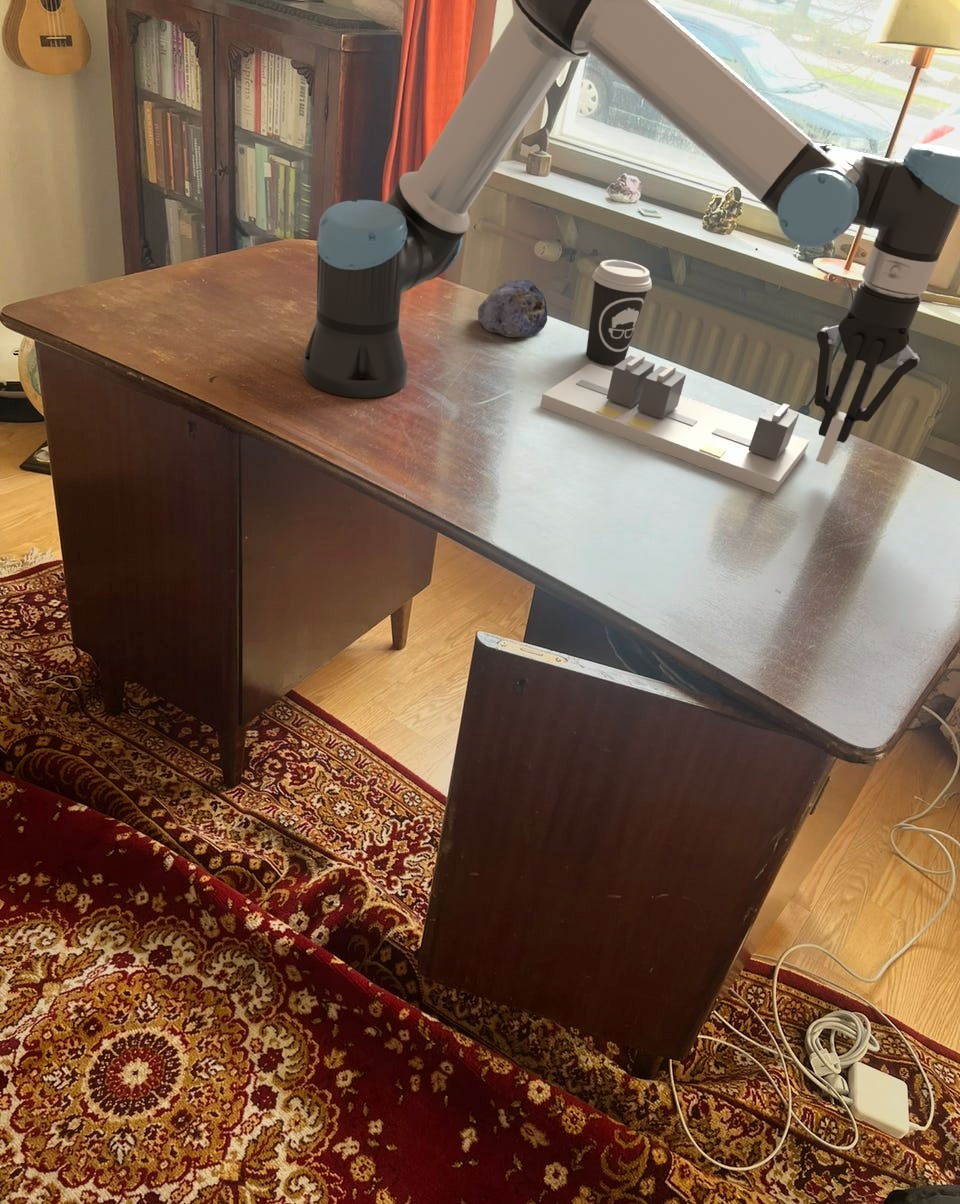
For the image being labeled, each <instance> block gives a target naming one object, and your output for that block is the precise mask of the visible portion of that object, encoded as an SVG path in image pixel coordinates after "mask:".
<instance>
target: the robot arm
mask: <svg viewBox="0 0 960 1204" xmlns="http://www.w3.org/2000/svg"><path fill="white" fill-rule="evenodd" d="M511 4H512V11H513V13H512V16H511V18H510V20H509V22H508V23H507V25H506V26H505V28H504V30H503V31H502V33H501V35H500V36H499V38H498V39H497V41H496V43H495V45H494V46H493V48H492V49H491V51H490V53H489V54H488V56H487V57H486V59H485V61H484V62H483V64H482V66H481V67H480V69H479V71H478V72H477V74H476V75H475V77H474V79H473V81H472V82H471V84H470V85H469V87H468V88H467V90H466V92H465V93H464V95H463V97H462V98H461V100H460V101H459V103H458V105H457V107H456V108H455V110H454V112H453V114H452V115H451V116H450V118H449V119H448V121H447V123H446V125H445V126H444V128H443V129H442V131H441V133H440V134H439V136H438V138H437V139H436V140H435V142H434V144H433V146H432V148H431V149H430V150H429V153H428V154H427V155H426V157H425V159H424V160H423V162H422V164H421V166H420V167H419V169H418V171H417V170H415V171H408V172H405V173H403V174H402V175H401V176H400V179H399V180H398V181H397V183H396V185H395V186H394V188H393V190H392V192H391V193H390V195H389V197H388V198H387V200H386V201H385V202H384V201H380V200H374V199H373V200H372V199H357V200H356V201H352V200H346V201H342V202H339V203H335V204H333V205H332V206H330V207H328V208H327V209H326V210H325V211H324V212H323V213H322V215H321V217H320V218H319V225H318V234H317V238H316V250H317V260H316V261H317V269H316V270H317V272H316V273H317V274H316V320H315V325H314V327H313V330H312V332H311V335H310V339H309V340H308V344H307V346H306V350H305V352H304V355H303V360H302V361H303V362H302V364H303V365H302V367H303V368H302V369H303V370H302V374H303V378H304V379H305V380H306V382H308V384H310V385H311V386H312V387H315V388H317V389H318V390H320V391H323V392H325V393H328V394H333V395H336V396H342V397H347V398H357V399H370V398H379V397H386V396H389V395H392V394H395V393H397V392H399V391H400V390H402V388H404V387H405V386H406V383H407V377H408V364H407V361H406V358H405V353H404V348H403V344H402V339H401V336H400V329H399V328H400V327H399V325H400V323H399V322H400V311H401V300H402V299H401V298H402V294H403V293H406V292H407V291H409V290H411V289H413V288H415V287H416V286H419V285H420V284H423V283H424V282H427V281H431V280H434V279H435V278H437V277H439V276H440V275H441V274H443V273H445V272H446V271H447V270H448V269H449V268H450V267H451V265H453V264H454V262H455V260H456V259H457V257H458V256H459V254H460V251H461V249H462V245H463V237H464V235H465V233H466V232H467V230H468V229H469V227H470V225H471V223H470V222H471V220H470V216H469V211H468V210H469V209H470V207H471V205H472V204H473V202H474V201H475V199H476V198H477V196H478V195H479V194H480V192H481V191H482V189H483V188H484V186H485V184H486V183H487V182H488V180H489V179H490V178H491V177H492V175H493V173H494V171H495V170H496V169H497V167H498V166H499V165H500V162H501V161H502V160H503V158H504V157H505V156H506V154H507V152H508V151H509V150H510V148H511V146H512V145H513V143H514V142H515V141H516V139H517V138H518V136H519V134H520V133H521V132H522V130H523V129H524V127H525V126H526V124H527V123H528V121H529V120H530V118H531V117H532V115H533V114H534V112H535V111H536V109H537V108H538V107H539V105H540V103H541V102H542V100H543V99H544V98H545V96H546V94H547V93H548V92H549V90H550V89H551V87H552V86H553V85H554V83H555V81H556V80H557V78H558V77H559V75H561V73H562V71H563V70H564V68H565V67H566V65H567V63H569V62H572V61H578V60H584V59H586V57H587V56H588V55H589V53H590V54H591V55H593V56H594V57H595V59H597V60H598V61H599V62H600V63H602V64H603V65H604V66H605V67H606V68H607V69H608V70H609V71H611V72H612V74H614V75H615V76H617V77H618V78H619V79H620V80H621V81H622V82H623V83H625V84H626V85H627V86H628V87H629V88H630V89H632V91H634V92H635V93H636V94H637V95H639V96H640V97H641V99H643V100H644V101H645V102H646V103H647V104H648V105H650V106H651V107H652V108H653V109H654V110H656V112H657V113H659V114H660V115H661V116H662V117H663V118H665V120H667V122H669V123H670V124H671V125H673V126H674V127H675V129H678V131H680V132H681V133H682V134H683V135H684V136H685V137H687V139H689V140H690V141H691V142H692V143H693V144H694V145H695V146H696V147H698V148H699V149H700V150H701V151H702V152H704V154H706V155H707V156H708V157H709V158H710V159H712V161H714V162H715V163H716V164H717V165H718V166H720V167H721V168H722V169H723V170H725V172H726V173H728V174H729V175H730V176H731V177H733V178H734V180H736V181H737V182H738V183H739V184H740V185H742V186H743V187H744V188H745V189H746V190H747V191H748V192H749V193H750V194H752V195H753V196H754V197H755V198H757V200H758V201H760V202H761V203H762V204H763V205H764V206H765V208H767V209H768V210H770V212H771V213H773V214H774V215H775V216H776V217H777V220H778V222H779V223H778V225H779V226H780V229H781V231H782V232H783V234H784V236H785V237H786V239H788V240H789V241H790V242H791V243H794V244H795V245H796V246H801V247H804V248H817V247H821V246H825V245H827V244H830V243H831V242H833V241H834V240H836V239H837V238H838V237H839V236H840V235H843V234H844V233H846V231H848V230H849V228H850V227H852V225H855V226H856V225H857V226H860V227H865V228H866V229H867V228H868V229H874V230H877V231H878V232H877V235H876V237H875V239H874V242H873V246H872V248H871V251H870V254H869V256H868V258H867V261H866V264H865V266H864V269H863V272H862V275H861V276H862V278H863V280H862V281H861V282H860V283H858V285H857V287H856V291H855V292H854V295H853V298H852V301H851V304H850V307H849V310H848V312H847V314H846V316H845V317H844V318H843V319H842V320H840V322H839V324H837V325H833V326H830V327H829V326H824V327H822V328H821V329H820V330H819V331H818V332H817V334H816V339H817V343H818V347H819V356H818V357H819V358H818V363H817V365H818V366H817V376H816V386H815V392H814V393H815V395H814V402H813V403H814V404H815V406H817V407H819V408H821V409H822V410H824V415H823V419H822V421H821V423H820V426H819V428H818V435H819V436H822V437H824V438H823V441H822V444H821V447H820V449H819V451H818V453H817V457H816V459H815V462H818V463H820V464H823V465H827V464H828V463H829V462H830V460H831V459H832V457H833V455H834V452H835V449H836V447H837V444H838V442H840V443H842V444H844V443H846V441H847V440H848V439H849V437H850V435H851V433H852V430H853V427H854V425H855V423H856V422H859V421H862V422H865V423H867V422H869V421H870V420H871V419H872V417H873V416H874V415H875V414H876V412H877V411H878V409H879V408H880V407H881V406H882V404H883V403H884V402H885V400H886V399H887V398H888V396H889V395H890V393H891V392H892V391H893V390H894V388H895V387H896V385H897V384H898V383H899V382H900V380H901V379H902V377H903V376H904V375H906V374H908V373H909V372H910V371H912V370H913V369H915V368H916V367H917V365H918V364H919V363H920V362H921V359H922V358H921V357H922V356H921V354H919V353H916V352H914V350H913V349H912V348H911V347H910V346H909V345H908V344H909V342H910V336H909V333H910V332H909V331H910V329H911V325H912V323H913V321H914V319H915V316H916V315H917V311H918V309H919V307H920V304H921V302H922V298H921V295H920V294H923V293H924V292H926V291H927V288H928V285H929V283H930V280H931V279H932V276H933V274H934V271H935V268H936V266H937V264H938V261H939V259H940V255H941V253H942V251H943V249H944V246H945V244H946V242H947V239H948V237H949V235H950V232H951V230H952V228H953V225H954V223H955V221H956V219H957V216H958V214H959V212H960V150H958V149H955V148H952V147H951V148H950V147H946V146H942V145H934V144H933V145H932V144H928V143H917V144H914V145H912V146H911V147H909V149H908V152H907V153H906V155H905V156H904V158H903V159H899V158H897V159H893V158H886V157H883V156H877V155H874V154H869V153H865V152H861V151H856V150H852V149H848V148H844V147H839V146H836V145H835V144H831V143H827V144H826V143H819V142H818V143H817V142H814V141H813V140H812V139H811V138H810V137H809V136H808V135H807V134H805V133H804V132H803V130H801V129H799V127H798V126H796V125H795V123H793V121H791V120H790V119H788V118H787V117H786V116H785V115H784V114H783V113H782V112H780V111H779V109H777V108H776V107H775V106H774V105H773V104H771V103H770V102H769V101H768V100H767V99H766V98H765V97H763V95H761V94H760V93H759V92H758V91H756V89H755V88H753V87H752V86H751V85H750V84H748V83H747V82H746V80H744V79H743V78H742V77H741V76H740V75H739V74H737V73H736V72H735V71H734V70H733V69H732V68H731V67H729V66H728V65H727V64H726V63H725V62H724V61H723V60H722V59H720V58H719V57H718V56H717V55H716V54H715V53H713V52H712V51H711V50H710V49H709V48H708V47H707V46H705V45H704V44H703V43H702V42H701V41H700V40H699V39H697V38H696V37H695V36H694V35H693V34H692V33H691V32H689V31H688V30H687V29H686V28H685V27H684V26H683V25H681V24H680V23H679V21H678V20H676V19H675V18H674V17H672V16H671V14H669V13H668V12H667V11H666V10H664V9H663V8H662V7H661V6H660V5H659V4H658V3H656V2H655V0H511ZM839 336H840V340H841V343H842V346H843V349H844V352H845V354H846V356H845V358H844V362H843V364H842V368H841V370H840V373H839V376H838V377H837V381H836V383H835V386H834V389H833V391H832V394H831V397H830V396H829V394H830V385H831V377H832V369H833V360H834V351H835V344H836V342H837V341H838V340H839ZM898 353H899V357H898V358H897V360H896V364H897V366H896V367H895V369H894V370H893V372H891V374H890V375H889V377H888V378H887V379H886V381H885V382H884V384H883V385H882V387H880V389H879V390H878V392H877V393H876V394H875V396H874V397H873V399H872V400H871V401H870V403H869V404H868V405H867V407H866V408H865V407H862V406H863V404H864V402H865V399H866V396H867V394H868V391H869V389H870V387H871V383H872V382H873V379H874V377H875V374H876V371H877V369H878V368H879V365H881V364H883V363H884V362H886V361H888V360H889V359H890V358H893V357H894V356H895V355H897V354H898ZM859 361H862V362H863V363H865V365H864V367H863V371H862V374H861V376H860V379H859V382H858V383H857V387H856V389H855V391H854V394H853V397H852V399H851V402H850V404H849V407H848V409H847V411H846V413H845V412H843V411H840V410H839V409H840V407H841V404H842V402H843V398H844V396H845V394H846V391H847V389H848V386H849V383H850V382H851V378H852V376H853V374H854V371H855V369H856V366H857V363H859Z"/></svg>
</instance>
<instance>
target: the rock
mask: <svg viewBox="0 0 960 1204" xmlns="http://www.w3.org/2000/svg"><path fill="white" fill-rule="evenodd" d="M546 302H547V301H546V298H545V295H544V293H543V292H542V291H540V289H538V288H537V286H536V285H535V283H533V282H532V281H530V280H523V279H522V280H507V281H504V282H503V283H502V285H500V286H498V287H497V288H496V289H494V290H493V291H492V292H491V293H490V294H489V295H488V296H487V297H486V298H485V300H484V301H482V303H481V304H480V305H479V307H478V309H477V319H478V322H480V324H482V327H484V329H485V330H486V331H488V332H491V333H495V334H496V333H498V334H499V335H501V336H504V337H508V338H518V337H519V338H520V337H522V338H529V337H531V336H535V335H537V334H539V333H540V332H541V331H542V330H543V329H544V328H545V327H546V326H545V325H547V322H548V309H547V303H546Z"/></svg>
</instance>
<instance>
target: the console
mask: <svg viewBox="0 0 960 1204" xmlns="http://www.w3.org/2000/svg"><path fill="white" fill-rule="evenodd" d="M612 373H613V370H609V369H607V368H604V367H600V366H599V365H594V364H592V363H588V364H587V365H585V366H584V367H582V368H580V369H579V370H577V371H576V372H574V373H573V374H571V375H569V376H568V377H567V378H565V379H563V380H562V381H560V382H559V383H557V384H556V385H554V386H552V387H551V388H549V389H548V390H546V391H545V392H543V393H542V395H541V401H540V407H541V408H543V409H545V410H548V411H550V412H554V413H557V414H559V415H562V416H565V417H568V418H570V419H573V420H576V421H578V422H581V423H583V424H586V425H589V426H590V427H594V428H597V429H599V430H602V431H605V432H607V433H610V434H613V435H615V436H618V437H620V438H623V439H626V440H628V441H631V442H634V443H636V444H639V445H641V446H644V447H647V448H650V449H651V450H655V451H658V452H661V453H663V454H665V455H667V456H672V458H673V457H674V458H676V459H679V460H682V461H684V462H687V463H689V464H692V465H695V466H697V467H700V468H702V469H704V470H708V471H711V472H713V473H716V474H718V475H722V476H724V477H725V478H726V477H727V478H729V479H732V480H735V481H737V482H740V483H743V484H745V485H747V486H748V485H749V486H750V487H753V488H756V489H758V490H761V491H763V492H766V493H770V494H771V495H775V493H776V492H777V491H778V490H779V489H780V487H781V486H782V484H783V483H784V482H785V480H786V479H787V478H788V476H789V475H790V474H791V472H793V470H794V468H795V467H797V464H798V463H799V462H800V461H801V459H802V458H803V457H804V455H805V454H806V451H807V449H808V446H809V443H810V440H809V439H806V438H803V437H801V436H797V435H794V434H792V436H791V438H790V441H789V444H788V446H787V447H786V448H785V450H784V451H783V452H782V453H781V455H780V456H779V457H778V458H777V459H776V460H774V459H771V458H768V457H765V456H763V455H760V454H757V453H754V452H752V451H749V450H748V449H749V446H750V444H751V441H752V438H753V435H754V432H755V429H756V426H757V423H758V421H754V420H753V419H749V418H746V417H744V416H740V415H737V414H734V413H732V412H729V411H725V410H723V409H720V408H717V407H714V406H713V405H712V406H711V405H709V404H706V403H703V402H701V401H697V400H694V399H691V398H689V397H686V396H683V395H682V394H681V395H680V399H679V402H678V406H677V407H676V408H675V409H674V410H672V411H671V412H670V413H669V414H668V415H667V416H665V417H664V418H663V419H661V418H658V417H655V416H652V415H650V414H647V413H644V412H641V411H639V410H637V409H638V405H639V402H638V403H637V404H635V405H634V406H633V407H631V408H630V407H628V406H625V405H622V404H619V403H617V402H614V401H611V400H608V399H607V394H608V390H609V386H610V381H611V377H612Z"/></svg>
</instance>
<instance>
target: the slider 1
mask: <svg viewBox="0 0 960 1204" xmlns="http://www.w3.org/2000/svg"><path fill="white" fill-rule="evenodd" d="M645 358H646V356H645V355H643V354H639V355H637V356H633V355H629V356H628V357H627V356H626V357H625V359H624V360H623V361H622V362H620V363H619V364H617V365H616V366H613V368H612V372H613V373H612V377H611V381H610V386H609V390H608V394H607V399H608V400H611V401H614V402H617V403H619V404H622V405H625V406H628V407H630V408H631V407H633V406H634V405H635V404H637V403H638V402H639V401H640V397H641V393H642V389H643V385H644V381H645V378H646V377H647V376H648V375H650V374H651V373H652V372H654V371H655V365H656V364H655V362H654V363H653V362H650V361H648V360H645Z"/></svg>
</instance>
